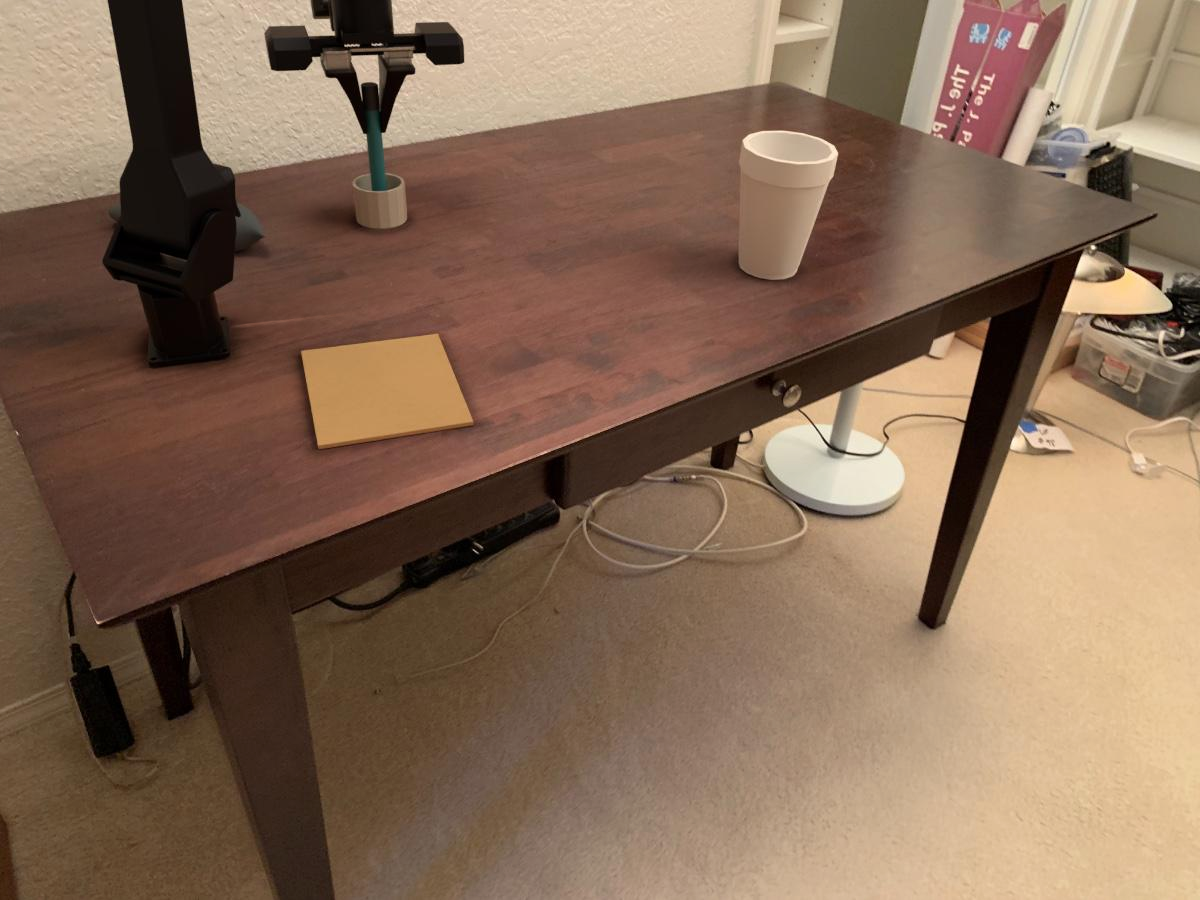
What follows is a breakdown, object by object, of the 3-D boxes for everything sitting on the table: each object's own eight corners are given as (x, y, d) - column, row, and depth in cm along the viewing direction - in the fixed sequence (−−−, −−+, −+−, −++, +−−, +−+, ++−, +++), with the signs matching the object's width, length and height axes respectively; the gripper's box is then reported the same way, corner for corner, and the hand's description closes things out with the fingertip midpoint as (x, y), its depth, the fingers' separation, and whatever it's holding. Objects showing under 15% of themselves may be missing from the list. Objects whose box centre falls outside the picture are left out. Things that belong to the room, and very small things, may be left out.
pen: (389, 199, 100) (379, 86, 93) (373, 200, 100) (362, 87, 92) (386, 193, 101) (376, 81, 94) (371, 194, 101) (359, 82, 93)
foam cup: (741, 240, 104) (760, 124, 96) (821, 259, 101) (847, 142, 93) (712, 272, 97) (730, 151, 89) (796, 295, 94) (822, 171, 86)
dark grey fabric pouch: (89, 237, 95) (75, 190, 92) (119, 218, 99) (107, 173, 96) (264, 267, 92) (256, 220, 89) (288, 246, 96) (281, 201, 93)
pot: (411, 229, 101) (408, 190, 98) (360, 233, 99) (356, 194, 97) (402, 209, 105) (399, 171, 102) (353, 213, 103) (349, 174, 101)
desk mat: (473, 425, 73) (473, 421, 73) (318, 449, 70) (317, 445, 69) (438, 337, 83) (437, 333, 83) (301, 354, 80) (300, 350, 80)
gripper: (439, -50, 95) (446, 103, 105) (249, -50, 90) (275, 112, 99) (462, -27, 87) (468, 137, 97) (256, -25, 81) (283, 148, 91)
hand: (373, 132), depth 96 cm, fingers closed on pen, 1 cm apart
